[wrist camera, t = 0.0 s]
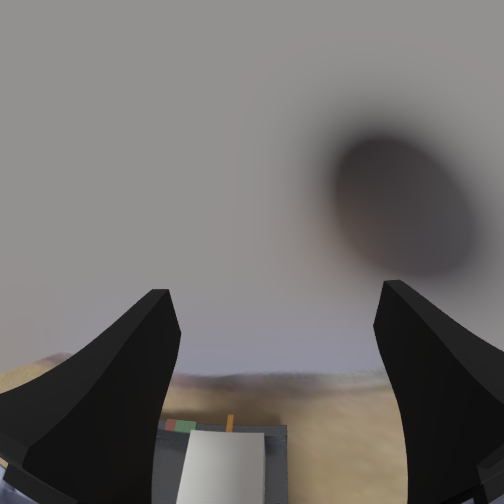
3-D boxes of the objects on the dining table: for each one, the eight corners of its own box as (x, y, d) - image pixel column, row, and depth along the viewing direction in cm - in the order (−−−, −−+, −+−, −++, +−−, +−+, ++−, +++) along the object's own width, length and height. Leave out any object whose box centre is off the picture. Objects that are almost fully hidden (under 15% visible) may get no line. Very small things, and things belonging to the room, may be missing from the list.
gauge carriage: (262, 557, 12) (260, 555, 10) (186, 551, 12) (168, 544, 10) (265, 435, 24) (264, 409, 22) (205, 434, 24) (196, 407, 22)
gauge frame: (287, 580, 10) (292, 582, 7) (83, 541, 11) (46, 524, 8) (285, 439, 24) (287, 408, 22) (123, 426, 25) (102, 394, 23)
